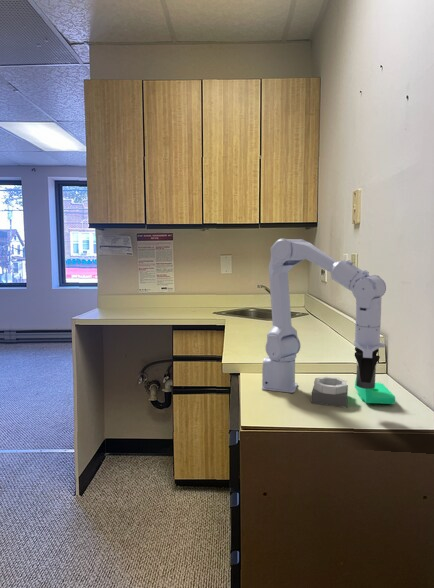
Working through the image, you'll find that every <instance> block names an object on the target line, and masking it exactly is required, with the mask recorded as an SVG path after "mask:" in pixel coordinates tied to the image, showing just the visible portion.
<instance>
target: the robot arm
mask: <svg viewBox="0 0 434 588" xmlns="http://www.w3.org/2000/svg"><path fill="white" fill-rule="evenodd" d="M304 260H306V261H308V262H311V263H312V264H314V265H316V266H317V267H320V268H322V269H323V270H325V271H327V272H329V273H330V278H331V279H332V280H333V281H334V282H336V283H338V284H339V285H341V286H343V287H344V288H346V289H347V290H348V291H350V292H352V295H353V296H354V297H353V298H355V300H356V301H355V332H354V334H355V335H354V342H353V346H355V347H354V351H355V352H354V357H355V359H356V363H357V362H358V365H359V371H360V378H361V382H366V383H371V380H372V376H373V372H374V368H375V366H376V367H377V364H378V362H379V360H380V358H381V356H380V355H378V353H379V352H380V351H379V349H380V348H386V347H385V346H386V343H385V342H380V341H381V340H380V339H381V321H382V320H381V319H382V318H381V317H382V299H383V298H382V297H383V296H384V295H385V293H386V291H387V285H386V282H385V280H384V279H382V277H380V275H376V274H373V275H370V274H369V273H370V271H368V270H363V269H360V268H359V267H357V266H356V265H354V261H351V260H346V259H343V260H339V261H338V260H336V259H335V258H333V257H331V256H330V255H329V254H327V253H325V252H324V251H323V250H321V249H319V248H318V247H316V246H315V245H314V244H312V242H310V241H306V240H304V239H301V238H298V239H294V238H293V239H292V238H291V239H288V238H279V239H277V240H276V241H275V242H274V243H273V244H272V246H271V247H270V259H269V264H268V278H269V279H268V280H269V291H270V306H271V308H270V309H271V319H272V322H271V323H272V327H271V328H270V330H269V331H268V333H267V334H266V343H265V347H264V348H265V352H266V355H267V356H265V357H264V358H263V362H262V368H261V369H262V371H261V372H262V376H261V377H262V380H261V381H262V383H261V389H262V390H263V391H264V390H265V391H273V392H282V393H289V394H294V393H295V392H296V389H297V387H298V382H296V359H297V354H298V353H299V352H300V351H301V341H300V339H299V337H298V332H297V329H296V328H295V327H294V326H293V325H292V312H291V311H292V310H291V300H290V299H291V297H290V285H289V284H290V283H289V272H290V271H291V270H292V269H293V267H294V266H296V265H298V264H299V263H301V262H303V261H304Z"/></svg>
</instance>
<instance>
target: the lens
mask: <svg viewBox="0 0 434 588" xmlns="http://www.w3.org/2000/svg"><path fill="white" fill-rule="evenodd" d="M376 369H377V365H376V366H375V368H374V372H373V376H372V380H371V383H366V382H361V378H360V371H359V365H358V362H357V361H356V377H355V380H356V386H358V387H360V388H364V389H372V388H375V383H376V375H375V374H377V371H376Z"/></svg>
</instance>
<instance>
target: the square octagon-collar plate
mask: <svg viewBox="0 0 434 588" xmlns="http://www.w3.org/2000/svg"><path fill="white" fill-rule="evenodd" d="M347 384H348V383H347V380H345V379H342V378H340V377H336V376H320V377H316V378H315V379H314V382H313V386H312V387H313V388H312V390H311V404H316V405H323V406H324V405H325V406H332V407H341V408H347V407H348V396H349V395H348V394H349V393H348V391H349V385H347Z"/></svg>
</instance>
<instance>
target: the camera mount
mask: <svg viewBox="0 0 434 588" xmlns="http://www.w3.org/2000/svg"><path fill="white" fill-rule="evenodd" d="M376 374H377V373H376ZM376 374H375V376H376ZM354 388H355V390H356V391H357V396H358V397H359V399H360V400H361V401H362V402H365V403H366V404H385V405H386V404H390V405H394V404H396V396H395V395H394V394H393V393H392V392H391V391H390V389H388V387H386V385H385V384H384V383H381V382H375V388H372V389H364V388H360V387H358V386H356V379H355V380H354Z"/></svg>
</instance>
